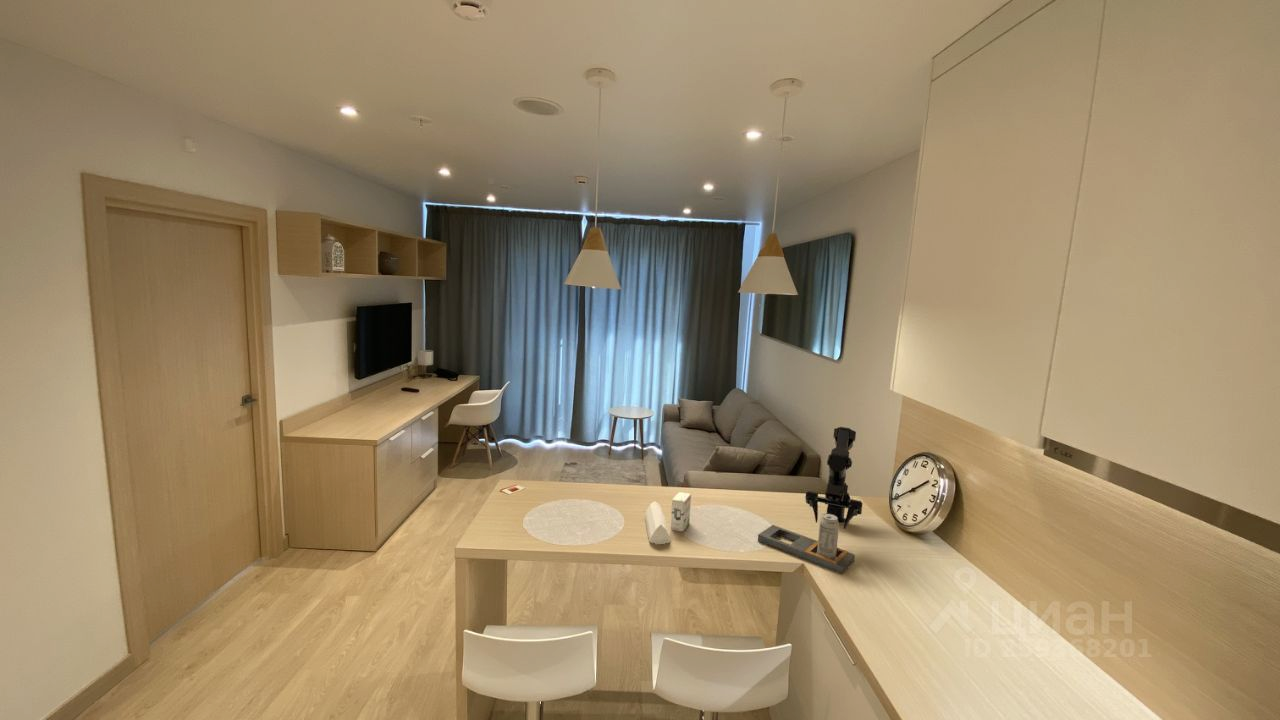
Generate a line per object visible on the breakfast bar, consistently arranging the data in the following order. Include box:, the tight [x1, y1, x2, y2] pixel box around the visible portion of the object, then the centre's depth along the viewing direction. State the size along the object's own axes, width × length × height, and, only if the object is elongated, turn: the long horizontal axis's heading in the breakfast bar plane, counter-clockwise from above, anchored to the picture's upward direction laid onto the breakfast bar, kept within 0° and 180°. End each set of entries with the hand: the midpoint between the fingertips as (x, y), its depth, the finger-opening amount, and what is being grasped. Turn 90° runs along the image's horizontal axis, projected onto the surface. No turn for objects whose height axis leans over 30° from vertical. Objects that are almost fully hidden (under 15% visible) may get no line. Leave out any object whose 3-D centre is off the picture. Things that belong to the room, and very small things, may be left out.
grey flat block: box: [757, 524, 856, 575], centre depth 176 cm, size 30×11×3 cm, turn 48°
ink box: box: [670, 491, 692, 532], centre depth 191 cm, size 9×5×12 cm, turn 157°
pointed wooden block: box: [644, 500, 672, 545], centre depth 187 cm, size 7×7×24 cm
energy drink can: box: [816, 513, 840, 560], centre depth 170 cm, size 6×6×15 cm
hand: (830, 525), depth 177 cm, fingers open, 9 cm apart
